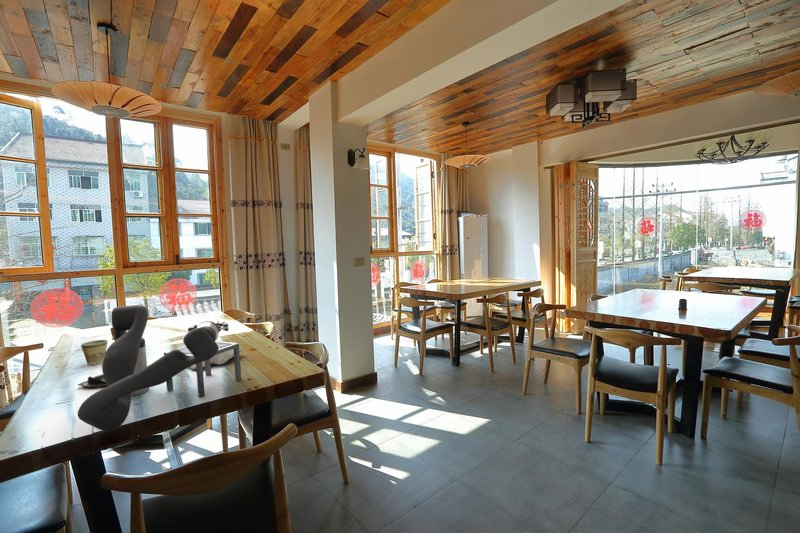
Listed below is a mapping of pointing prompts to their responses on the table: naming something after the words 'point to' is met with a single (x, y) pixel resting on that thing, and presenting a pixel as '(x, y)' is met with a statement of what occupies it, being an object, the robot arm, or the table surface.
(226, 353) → the rock
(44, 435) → the table surface
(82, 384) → the salad plate
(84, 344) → the ceramic cup
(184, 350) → the trapdoor
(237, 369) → the trapdoor frame
